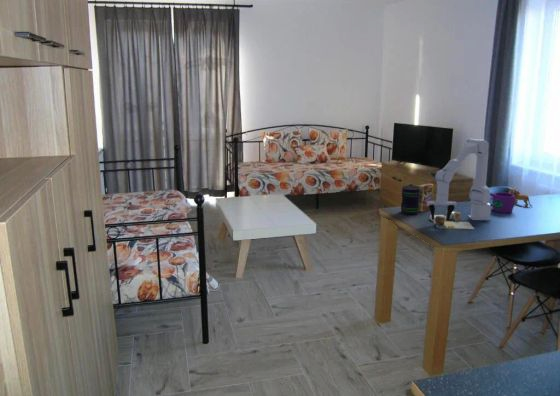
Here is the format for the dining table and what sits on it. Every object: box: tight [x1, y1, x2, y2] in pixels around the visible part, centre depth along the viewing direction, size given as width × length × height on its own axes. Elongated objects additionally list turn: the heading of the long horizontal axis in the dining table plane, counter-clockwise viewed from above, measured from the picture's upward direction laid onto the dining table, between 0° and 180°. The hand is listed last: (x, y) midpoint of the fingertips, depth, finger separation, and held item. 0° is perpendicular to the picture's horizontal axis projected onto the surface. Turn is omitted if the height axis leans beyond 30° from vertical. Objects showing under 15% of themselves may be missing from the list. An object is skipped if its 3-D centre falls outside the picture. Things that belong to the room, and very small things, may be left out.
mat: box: [432, 220, 475, 230], centre depth 243 cm, size 18×11×1 cm, turn 83°
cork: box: [453, 211, 462, 222], centre depth 250 cm, size 3×3×4 cm
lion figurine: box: [507, 188, 533, 208], centre depth 281 cm, size 15×5×9 cm, turn 38°
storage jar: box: [400, 185, 420, 217], centre depth 264 cm, size 10×10×15 cm
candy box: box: [417, 182, 434, 213], centre depth 270 cm, size 9×4×15 cm, turn 123°
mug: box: [490, 191, 515, 214], centre depth 269 cm, size 17×11×10 cm, turn 35°
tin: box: [444, 210, 457, 221], centre depth 256 cm, size 6×6×4 cm
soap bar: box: [429, 214, 447, 222], centre depth 253 cm, size 7×4×2 cm, turn 93°
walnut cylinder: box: [434, 215, 445, 226], centre depth 243 cm, size 4×4×4 cm
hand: (440, 219), depth 243 cm, fingers open, 7 cm apart
